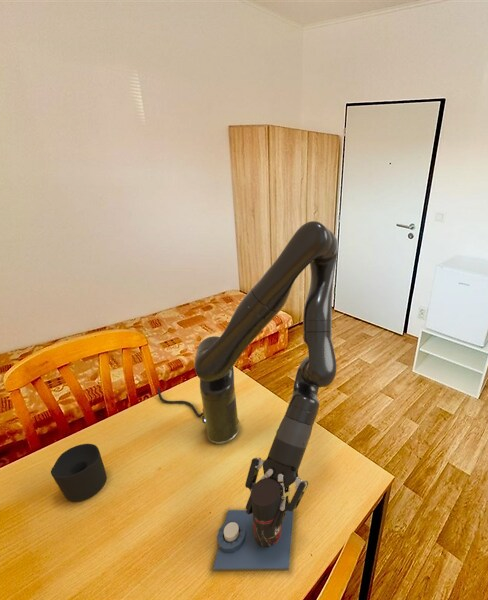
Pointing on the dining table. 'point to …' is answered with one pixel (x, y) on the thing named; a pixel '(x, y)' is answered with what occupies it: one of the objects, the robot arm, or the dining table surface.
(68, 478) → the pen holder
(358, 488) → the dining table surface
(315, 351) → the robot arm
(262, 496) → the deodorant
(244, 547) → the scale
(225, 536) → the button
